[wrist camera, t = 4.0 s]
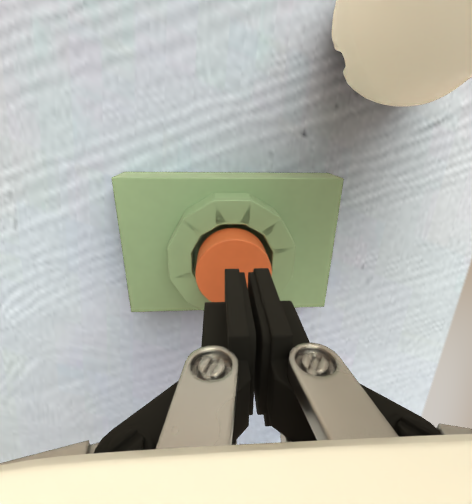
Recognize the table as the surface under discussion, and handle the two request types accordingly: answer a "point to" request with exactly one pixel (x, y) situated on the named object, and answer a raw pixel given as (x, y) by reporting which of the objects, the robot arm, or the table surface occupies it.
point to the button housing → (220, 217)
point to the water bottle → (404, 48)
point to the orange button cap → (227, 260)
